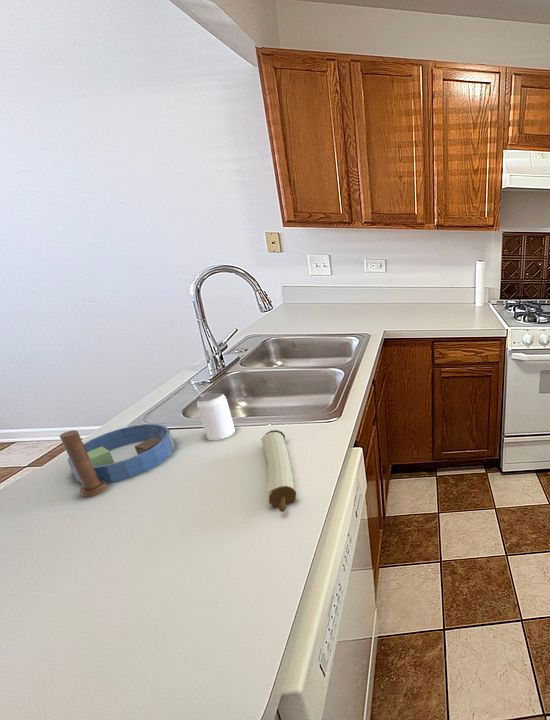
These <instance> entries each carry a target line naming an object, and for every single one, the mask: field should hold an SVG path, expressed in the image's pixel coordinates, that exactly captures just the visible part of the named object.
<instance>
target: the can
mask: <svg viewBox="0 0 550 720" xmlns="http://www.w3.org/2000/svg"><path fill="white" fill-rule="evenodd" d="M196 400H197V402H196V407H197V410H198V414H199V417H200V420H201V424H202V427H203V430H204V433H205V436H206V438H207V439H208V440H209V441H219V440H225V439H227V438H229V437H231V436H232V435H233V434H235V431H236V428H235V425H234V420H233V418H232V417H233V416H232V413H231V410H230V406H229V403H228V399H227V397H226V395H225V394H224V392H223V391H221V390H211V391H207V392H203V393H201V394H199V395H198V396H197V397H196Z"/></svg>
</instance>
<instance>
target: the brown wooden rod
mask: <svg viewBox="0 0 550 720" xmlns="http://www.w3.org/2000/svg"><path fill="white" fill-rule="evenodd" d="M59 438H60V440H61V443H62V445H63V448H64V449H65V451H66V453H67V455H68V458H70V460H71V462H72V464H73V466H74V468H75V470H76V472H77V475H78V477H79V479H80V481H81V485H82V486H81V487H80V489H79V492H80V494H81V497H83V498H86V499H87V498H93V497H96V496H98V495H100V494H102V493H104V492H105V491H106V490H107V489H108V485H107V483H105V481H104V480H99V478H98V476H97V474H96V471H95V469H94V467H93V465H92V462H91V460H90V458H89V456H88V453H87V451H86V449H85V447H84V443H83V440H82V438H81V436H80V433H79V431H78V430H75V429H74V430H73V429H72V430H68V431H65V432H63V433H61V434H60V435H59Z"/></svg>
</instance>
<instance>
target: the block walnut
mask: <svg viewBox="0 0 550 720" xmlns="http://www.w3.org/2000/svg"><path fill="white" fill-rule="evenodd" d="M161 441H162V440H161V439H156V438H150V439H148V440H144V441H141V442H140V443H138V444H136V445H134V448H135V451H136V454H137V455H139V454H141V453H143V452H145V451H147V450H149V449H151V448H153V447H154V446H155V445H157V444H158V443H160V442H161Z"/></svg>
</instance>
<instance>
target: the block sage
mask: <svg viewBox="0 0 550 720" xmlns="http://www.w3.org/2000/svg"><path fill="white" fill-rule="evenodd" d="M87 453H88V456H89V458H90V460H91V462H92V465H93V467H94V466H101V465H108V464H112V463H115V461H114V458H113V456H112V454H111V450H109V451H108V450H107V449H105V448H104V447H99V448H97V449H94V450H92V451H89V452H87Z"/></svg>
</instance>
